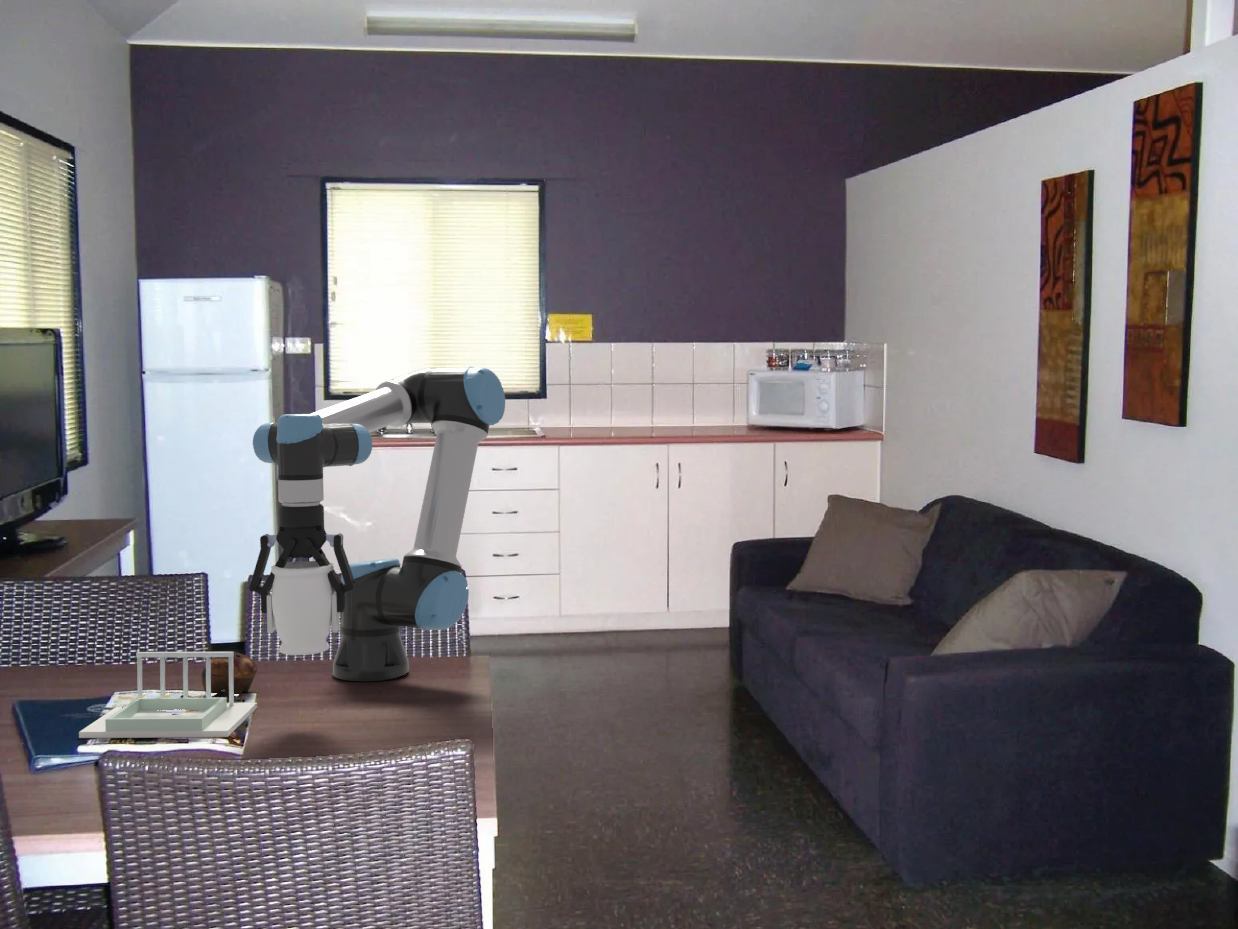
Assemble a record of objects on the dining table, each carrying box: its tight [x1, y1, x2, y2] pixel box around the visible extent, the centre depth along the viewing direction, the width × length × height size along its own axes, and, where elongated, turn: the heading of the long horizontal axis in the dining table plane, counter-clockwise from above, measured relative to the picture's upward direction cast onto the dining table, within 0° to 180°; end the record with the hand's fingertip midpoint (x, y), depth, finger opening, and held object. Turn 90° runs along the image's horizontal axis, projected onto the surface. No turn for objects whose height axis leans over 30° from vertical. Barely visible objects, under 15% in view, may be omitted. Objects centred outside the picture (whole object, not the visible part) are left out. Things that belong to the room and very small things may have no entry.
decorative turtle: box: [200, 652, 258, 695], centre depth 229 cm, size 10×15×8 cm, turn 4°
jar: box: [270, 560, 335, 656], centre depth 209 cm, size 11×10×15 cm
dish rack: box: [78, 651, 258, 739], centre depth 208 cm, size 24×19×11 cm
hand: (303, 631), depth 210 cm, fingers closed on jar, 10 cm apart
